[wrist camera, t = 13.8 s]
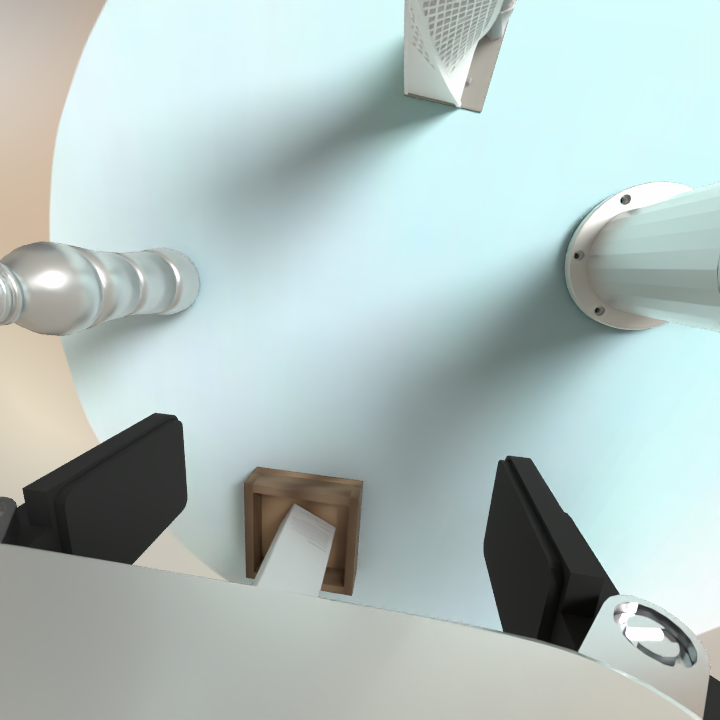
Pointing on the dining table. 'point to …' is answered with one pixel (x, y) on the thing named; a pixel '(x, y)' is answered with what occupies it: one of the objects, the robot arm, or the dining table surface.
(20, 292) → the plastic bottle
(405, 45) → the skyscraper
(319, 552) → the skincare box
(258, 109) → the dining table surface
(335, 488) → the walnut tray
